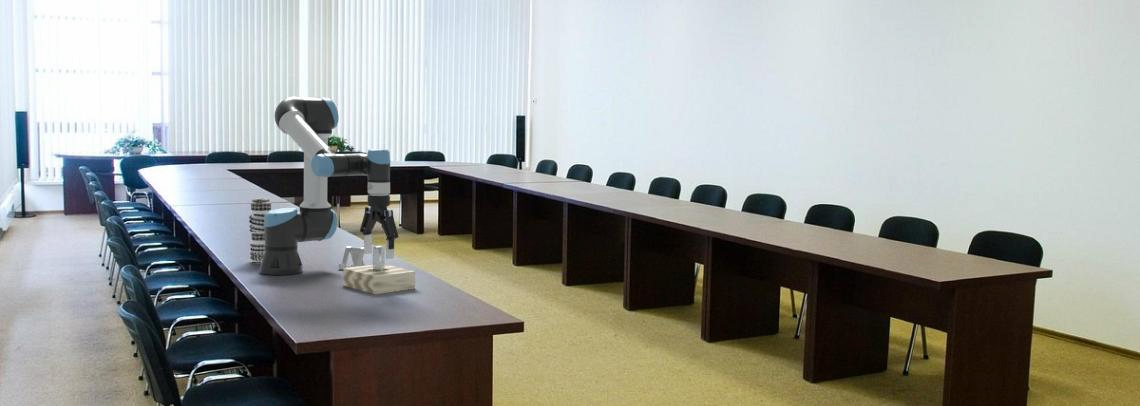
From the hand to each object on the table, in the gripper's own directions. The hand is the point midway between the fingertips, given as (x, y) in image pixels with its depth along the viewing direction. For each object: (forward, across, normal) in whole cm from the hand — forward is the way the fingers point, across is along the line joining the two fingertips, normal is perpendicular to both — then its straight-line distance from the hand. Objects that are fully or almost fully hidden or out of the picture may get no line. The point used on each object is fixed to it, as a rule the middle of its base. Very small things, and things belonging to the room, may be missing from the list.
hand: (378, 256), depth 326 cm
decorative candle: (+11, -73, -7) cm, 74 cm away
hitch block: (+11, 0, 0) cm, 11 cm away
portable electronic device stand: (+11, -36, +12) cm, 39 cm away
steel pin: (+11, 0, 0) cm, 11 cm away
